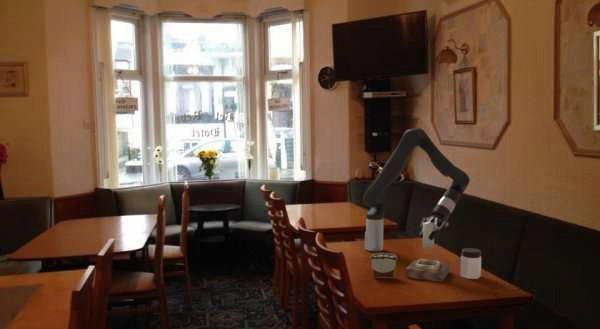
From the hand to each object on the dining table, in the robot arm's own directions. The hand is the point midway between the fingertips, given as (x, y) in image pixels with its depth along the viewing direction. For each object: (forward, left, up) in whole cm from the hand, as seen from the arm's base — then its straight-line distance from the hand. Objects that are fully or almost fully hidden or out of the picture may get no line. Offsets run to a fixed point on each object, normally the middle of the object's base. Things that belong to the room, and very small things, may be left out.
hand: (425, 237), depth 230 cm
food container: (-17, -8, -18) cm, 26 cm away
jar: (+19, +8, -18) cm, 27 cm away
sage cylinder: (+1, +2, -4) cm, 5 cm away
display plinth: (+1, +2, -17) cm, 17 cm away
